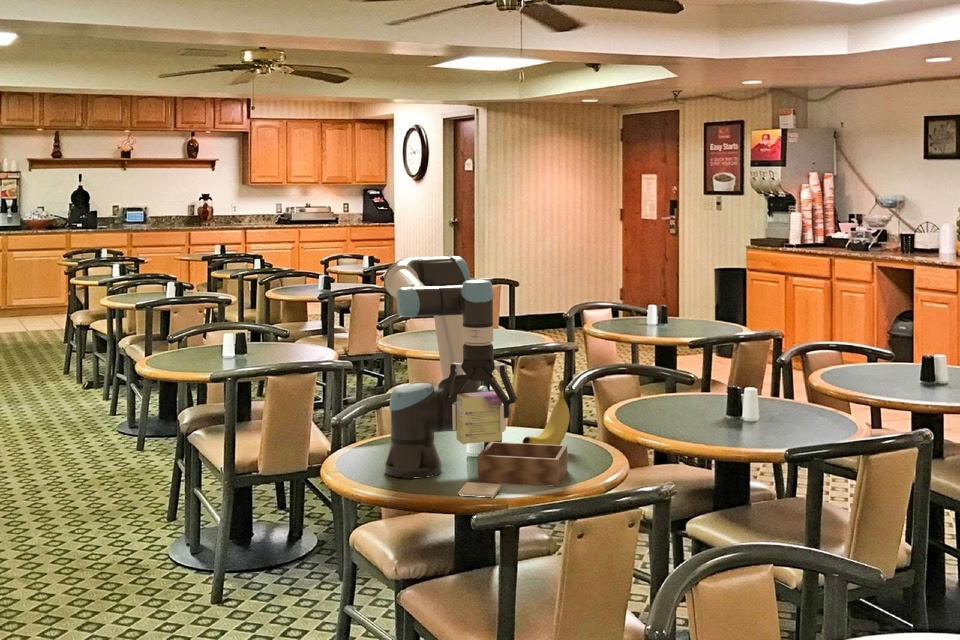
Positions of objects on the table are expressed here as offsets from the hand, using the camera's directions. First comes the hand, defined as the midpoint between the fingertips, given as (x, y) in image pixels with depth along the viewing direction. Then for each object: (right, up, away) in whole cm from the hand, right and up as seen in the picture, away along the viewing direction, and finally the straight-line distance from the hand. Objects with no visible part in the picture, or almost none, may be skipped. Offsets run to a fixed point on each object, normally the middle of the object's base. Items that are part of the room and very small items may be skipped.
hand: (479, 429), depth 267 cm
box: (0, -3, 0) cm, 3 cm away
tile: (0, -16, +2) cm, 16 cm away
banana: (+19, -11, +38) cm, 43 cm away
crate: (+12, -14, +16) cm, 24 cm away
